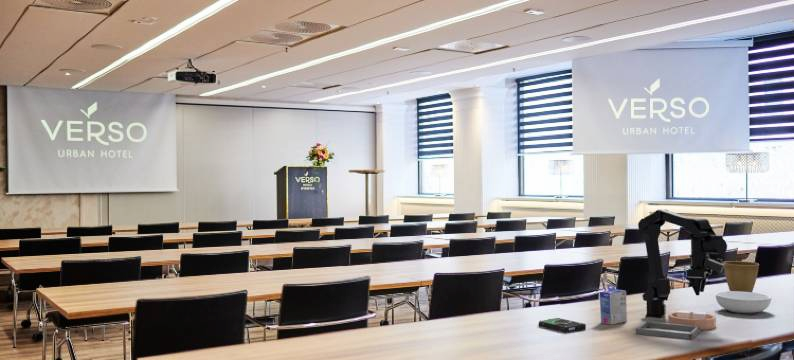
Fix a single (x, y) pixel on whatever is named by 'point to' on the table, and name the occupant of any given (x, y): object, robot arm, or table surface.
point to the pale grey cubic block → (699, 315)
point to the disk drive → (562, 325)
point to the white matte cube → (684, 314)
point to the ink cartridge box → (613, 306)
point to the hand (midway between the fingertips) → (699, 293)
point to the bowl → (693, 321)
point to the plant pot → (741, 275)
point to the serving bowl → (743, 301)
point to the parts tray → (691, 335)
